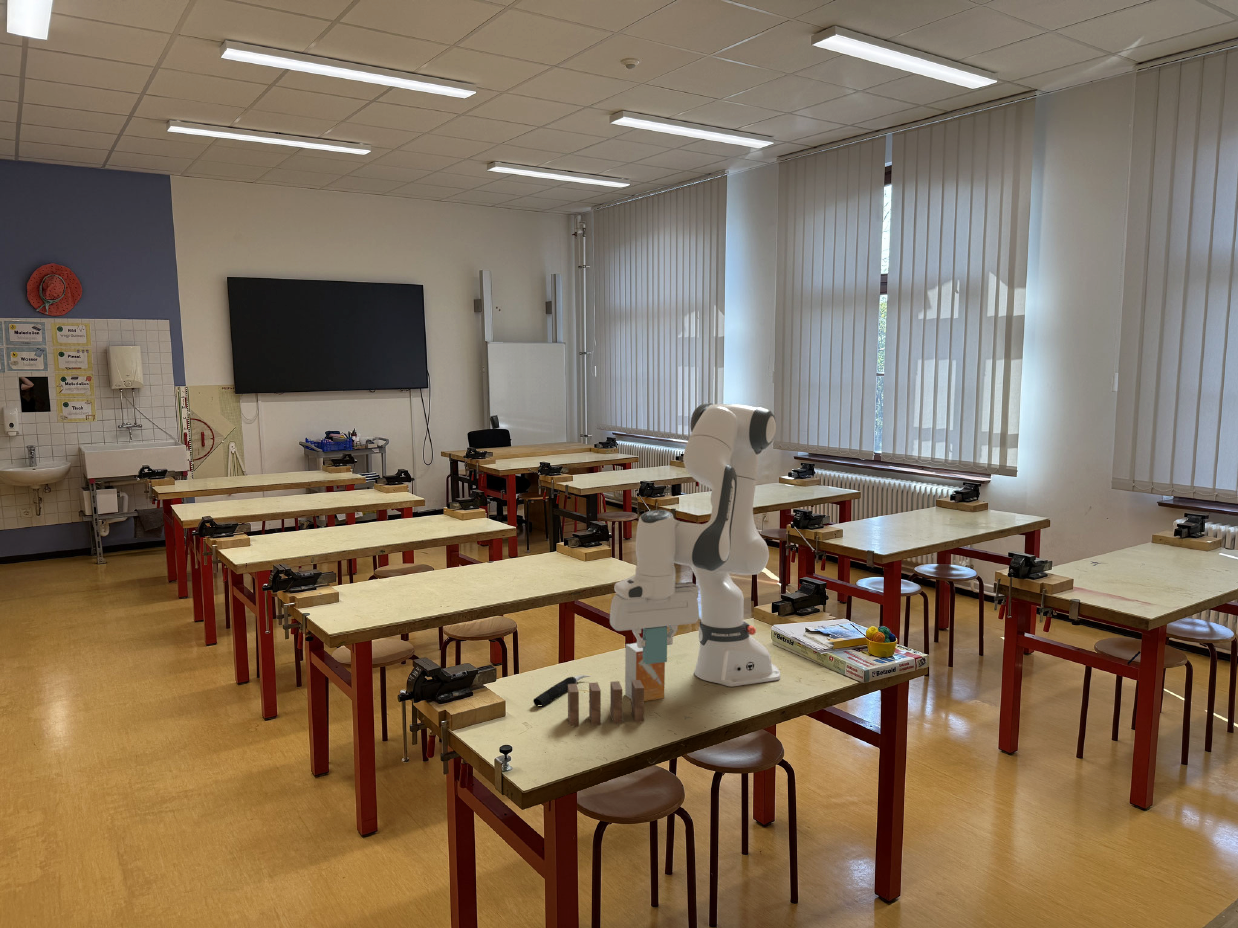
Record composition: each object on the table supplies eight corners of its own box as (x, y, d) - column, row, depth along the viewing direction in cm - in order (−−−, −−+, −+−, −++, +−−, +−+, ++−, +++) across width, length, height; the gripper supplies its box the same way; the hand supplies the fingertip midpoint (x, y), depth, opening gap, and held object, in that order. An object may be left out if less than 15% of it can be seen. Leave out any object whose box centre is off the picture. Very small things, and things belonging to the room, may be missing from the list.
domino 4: (639, 712, 196) (639, 679, 196) (643, 721, 192) (643, 687, 191) (631, 713, 196) (631, 680, 195) (635, 721, 191) (635, 688, 190)
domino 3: (618, 713, 196) (618, 681, 195) (622, 722, 191) (622, 689, 190) (610, 714, 195) (610, 681, 194) (613, 723, 190) (613, 689, 190)
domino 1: (576, 716, 194) (576, 683, 193) (578, 725, 189) (578, 691, 188) (567, 717, 194) (567, 684, 193) (570, 726, 189) (569, 692, 188)
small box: (635, 703, 202) (635, 651, 200) (624, 694, 207) (624, 643, 206) (665, 698, 205) (665, 646, 204) (653, 689, 211) (653, 639, 209)
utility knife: (577, 679, 219) (577, 668, 218) (590, 681, 217) (590, 670, 216) (531, 708, 200) (531, 696, 199) (545, 711, 198) (545, 699, 198)
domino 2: (597, 715, 195) (597, 682, 194) (600, 724, 190) (600, 690, 189) (589, 715, 195) (589, 682, 194) (592, 724, 190) (591, 690, 189)
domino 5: (642, 661, 186) (643, 626, 185) (663, 658, 187) (663, 624, 186) (645, 664, 184) (646, 628, 183) (666, 661, 185) (667, 626, 185)
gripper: (692, 577, 190) (691, 636, 192) (607, 584, 183) (607, 645, 185) (704, 584, 184) (703, 645, 186) (617, 591, 177) (616, 654, 179)
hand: (654, 645), depth 185 cm, fingers closed on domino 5, 5 cm apart
